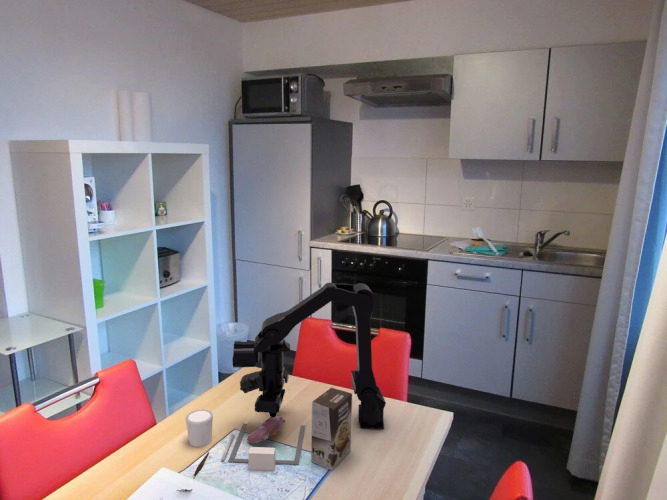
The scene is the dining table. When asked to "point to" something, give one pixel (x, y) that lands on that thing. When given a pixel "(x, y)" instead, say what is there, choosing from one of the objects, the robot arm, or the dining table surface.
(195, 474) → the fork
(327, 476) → the dining table surface
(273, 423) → the toy car
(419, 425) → the dining table surface
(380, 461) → the dining table surface
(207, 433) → the grey round cup
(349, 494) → the dining table surface
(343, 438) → the coffee box
